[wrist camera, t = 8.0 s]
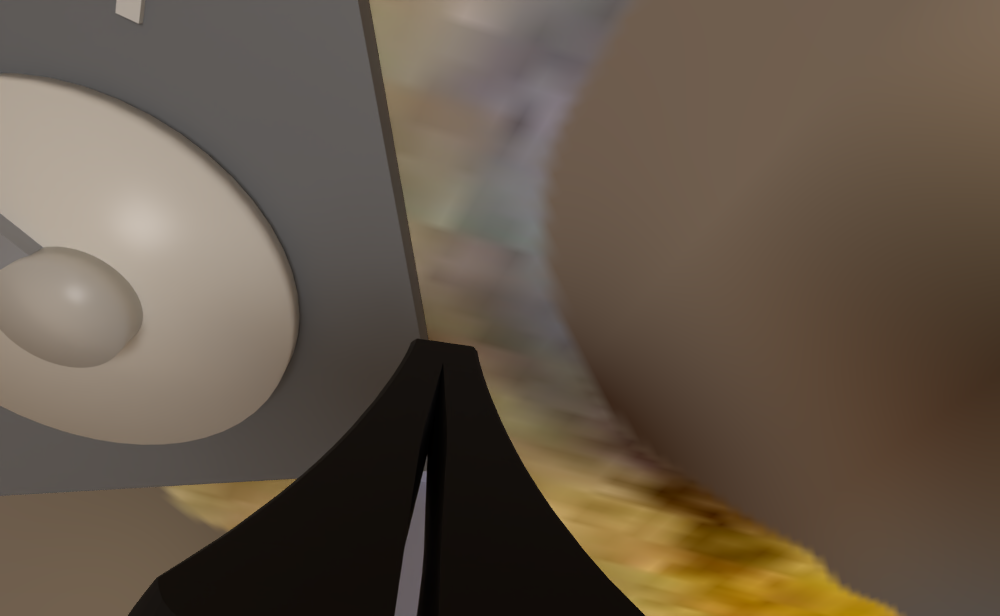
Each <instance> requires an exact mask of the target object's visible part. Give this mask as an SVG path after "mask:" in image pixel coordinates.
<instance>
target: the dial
mask: <svg viewBox="0 0 1000 616" xmlns="http://www.w3.org/2000/svg"><path fill="white" fill-rule="evenodd" d="M299 316H300V315H299V303H298V293H297V289H296V285H295V281H294V277H293V273H292V270H291V267H290V265H289V262H288V260H287V257H286V255H285V252H284V249H283V247H282V246H281V244H280V242H279V240H278V238H277V236H276V235H275V233H274V231H273V229H272V227H271V225H270V224H269V222H268V221H267V220H266V218H265V217H264V215H263V214H262V212H261V211H260V210H259V208H258V207H257V205H256V204H255V203H254V201H253V200H252V199H251V198H250V197H249V195H248V194H247V193H246V192H245V191H244V190H243V189H242V187H241V186H240V185H239V184H238V183H237V182H236V181H235V179H234V178H233V177H232V176H231V175H230V174H228V173H227V172H226V171H225V170H224V169H223V168H222V167H221V166H220V165H219V164H218V163H217V162H216V161H215V160H213V159H212V158H211V157H210V156H209V155H208V154H207V153H205V152H204V151H203V150H201V149H200V148H199V147H198V146H196V145H195V144H194V143H192V142H191V141H190V140H188V139H187V138H186V137H184V136H183V135H182V134H180V133H179V132H177V131H176V130H174V129H172V128H171V127H169V126H168V125H166V124H164V123H163V122H161V121H159V120H158V119H156V118H155V117H153V116H151V115H150V114H148V113H146V112H144V111H141V110H139V109H137V108H135V107H133V106H131V105H129V104H127V103H125V102H123V101H121V100H119V99H117V98H114V97H111V96H109V95H106V94H103V93H101V92H98V91H95V90H93V89H90V88H87V87H85V86H81V85H77V84H73V83H69V82H65V81H61V80H57V79H53V78H49V77H41V76H34V75H26V74H18V73H0V406H2V407H4V408H6V409H8V410H10V411H12V412H14V413H16V414H18V415H21V416H23V417H26V418H28V419H30V420H33V421H35V422H38V423H40V424H43V425H46V426H49V427H52V428H55V429H58V430H61V431H64V432H68V433H71V434H75V435H79V436H84V437H88V438H92V439H97V440H103V441H109V442H116V443H126V444H139V445H160V444H173V443H182V442H188V441H193V440H197V439H202V438H206V437H209V436H212V435H214V434H217V433H220V432H223V431H225V430H227V429H229V428H231V427H233V426H235V425H237V424H239V423H241V422H242V421H243V420H245V419H246V418H248V417H249V416H251V415H252V414H253V413H255V412H256V411H257V410H258V409H259V408H260V407H261V406H262V405H263V404H264V403H265V402H266V401H267V400H268V398H269V397H270V395H271V394H272V393H273V391H274V390H275V388H276V387H277V386H278V384H279V382H280V380H281V378H282V376H283V374H284V372H285V370H286V368H287V366H288V364H289V362H290V359H291V357H292V355H293V353H294V349H295V345H296V341H297V337H298V329H299Z"/></svg>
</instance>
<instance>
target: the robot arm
mask: <svg viewBox="0 0 1000 616" xmlns="http://www.w3.org/2000/svg"><path fill="white" fill-rule="evenodd" d="M426 458H427V471H423V470H424V466H425V462H426ZM128 616H645V615H644V614H643V613H642V612H641V611H640V610H639V609H638V608H637V607H636V606H635V605H634V604H633V603H632V602H631V601H630V600H629V599H628V598H627V597H626V596H625V595H624V594H623V593H622V592H621V591H620V590H619V589H618V588H617V587H616V586H615V585H614V584H613V583H612V582H611V581H610V580H609V579H608V577H607V576H606V575H605V574H604V573H603V572H602V571H601V569H600V568H599V567H598V566H597V565H596V564H595V563H594V561H593V560H592V559H591V558H590V557H589V556H588V554H587V553H586V552H585V551H584V550H583V548H582V547H581V546H580V545H579V543H578V542H577V541H576V539H575V538H574V537H573V535H572V534H571V533H570V532H569V530H568V529H567V528H566V526H565V525H564V524H563V523H562V521H561V520H560V519H559V517H558V516H557V515H556V514H555V512H554V511H553V509H552V508H551V507H550V505H549V504H548V502H547V501H546V499H545V498H544V496H543V495H542V493H541V492H540V490H539V489H538V487H537V486H536V484H535V482H534V481H533V479H532V478H531V476H530V474H529V473H528V471H527V470H526V468H525V466H524V464H523V463H522V461H521V459H520V457H519V455H518V454H517V452H516V450H515V448H514V446H513V444H512V442H511V440H510V438H509V436H508V434H507V432H506V430H505V428H504V426H503V424H502V422H501V419H500V417H499V415H498V412H497V410H496V408H495V405H494V403H493V401H492V398H491V396H490V393H489V390H488V388H487V385H486V382H485V379H484V376H483V373H482V370H481V366H480V362H479V358H478V353H477V351H476V350H475V348H474V347H471V346H465V345H458V344H451V343H444V342H438V341H431V340H424V339H415V340H414V341H412V342H411V344H410V346H409V349H408V351H407V352H406V354H405V356H404V358H403V360H402V361H401V363H400V365H399V366H398V368H397V369H396V371H395V372H394V374H393V375H392V377H391V378H390V380H389V381H388V382H387V384H386V385H385V386H384V388H383V389H382V391H381V392H380V393H379V395H378V396H377V397H376V399H375V400H374V401H373V402H372V404H371V405H370V406H369V407H368V408H367V409H366V411H365V412H364V413H363V414H362V415H361V416H360V418H359V419H358V420H357V421H356V422H355V423H354V424H353V426H352V427H351V428H350V429H349V430H348V431H347V432H346V433H345V434H344V435H343V436H342V437H341V438H340V439H339V441H338V442H337V443H336V444H335V445H334V446H333V447H332V448H330V449H329V450H328V451H327V452H326V453H325V454H324V455H323V456H322V457H321V458H320V459H319V460H318V461H317V462H316V463H315V464H314V465H312V466H311V467H310V468H309V469H308V470H307V471H306V472H304V473H303V474H302V475H301V476H300V477H299V478H298V479H296V480H295V481H294V482H293V483H292V484H291V485H289V486H288V487H287V488H286V489H285V490H283V491H282V492H281V493H280V494H278V495H277V496H276V497H275V498H273V499H272V500H271V501H269V502H268V503H267V504H265V505H264V506H263V507H261V508H260V509H258V510H257V511H256V512H254V513H253V514H252V515H250V516H249V517H248V518H246V519H245V520H244V521H242V522H241V523H240V524H238V525H237V526H236V527H234V528H233V529H231V530H230V531H229V532H227V533H226V534H224V535H223V536H221V537H220V538H218V539H217V540H215V541H214V542H212V543H211V544H209V545H208V546H206V547H204V548H203V549H201V550H200V551H198V552H196V553H195V554H193V555H192V556H190V557H189V558H187V559H186V560H184V561H182V562H181V563H180V564H178V565H176V566H175V567H173V568H171V569H170V570H168V571H167V572H165V573H163V574H162V575H160V576H159V577H157V578H156V579H155V580H154V582H153V583H152V584H151V585H150V587H149V588H148V589H147V590H146V592H145V593H144V594H143V596H142V597H141V598H140V600H139V601H138V602H137V603H136V605H135V606H134V607H133V609H132V610H131V612H130V613H129V615H128Z"/></svg>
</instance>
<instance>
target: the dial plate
mask: <svg viewBox="0 0 1000 616" xmlns="http://www.w3.org/2000/svg"><path fill="white" fill-rule="evenodd" d="M0 73H18V74H26V75H34V76H41V77H49V78H53V79H57V80H61V81H65V82H69V83H73V84H77V85H81V86H85V87H87V88H90V89H93V90H95V91H98V92H101V93H103V94H106V95H109V96H111V97H114V98H117V99H119V100H121V101H123V102H125V103H127V104H129V105H131V106H133V107H135V108H137V109H139V110H141V111H144V112H146V113H148V114H150V115H151V116H153V117H155V118H156V119H158V120H159V121H161V122H163V123H164V124H166V125H168V126H169V127H171V128H172V129H174V130H176V131H177V132H179V133H180V134H182V135H183V136H184V137H186V138H187V139H188V140H190V141H191V142H192V143H194V144H195V145H196V146H198V147H199V148H200V149H201V150H203V151H204V152H205V153H207V154H208V155H209V156H210V157H211V158H212V159H213V160H215V161H216V162H217V163H218V164H219V165H220V166H221V167H222V168H223V169H224V170H225V171H226V172H227V173H228V174H230V175H231V176H232V177H233V178H234V179H235V181H236V182H237V183H238V184H239V185H240V186H241V187H242V189H243V190H244V191H245V192H246V193H247V194H248V195H249V197H250V198H251V199H252V200H253V201H254V203H255V204H256V205H257V207H258V208H259V210H260V211H261V212H262V214H263V215H264V217H265V218H266V220H267V221H268V222H269V224H270V225H271V227H272V229H273V231H274V233H275V235H276V236H277V238H278V240H279V242H280V244H281V246H282V247H283V249H284V252H285V255H286V257H287V260H288V262H289V265H290V267H291V270H292V273H293V277H294V281H295V285H296V289H297V293H298V303H299V315H300V316H299V329H298V337H297V341H296V345H295V349H294V353H293V355H292V357H291V359H290V362H289V364H288V366H287V368H286V370H285V372H284V374H283V376H282V378H281V380H280V382H279V384H278V386H277V387H276V388H275V390H274V391H273V393H272V394H271V395H270V397H269V398H268V400H267V401H266V402H265V403H264V404H263V405H262V406H261V407H260V408H259V409H258V410H257V411H256V412H255V413H253V414H252V415H251V416H249V417H248V418H246V419H245V420H243V421H242V422H241V423H239V424H237V425H235V426H233V427H231V428H229V429H227V430H225V431H223V432H220V433H217V434H214V435H212V436H209V437H206V438H202V439H197V440H193V441H188V442H182V443H173V444H160V445H139V444H126V443H116V442H109V441H103V440H97V439H92V438H88V437H84V436H79V435H75V434H71V433H68V432H64V431H61V430H58V429H55V428H52V427H49V426H46V425H43V424H40V423H38V422H35V421H33V420H30V419H28V418H26V417H23V416H21V415H18V414H16V413H14V412H12V411H10V410H8V409H6V408H4V407H2V406H0V496H3V495H22V494H39V493H56V492H71V491H72V492H73V491H90V490H108V489H125V488H142V487H160V486H177V485H194V484H211V483H229V482H246V481H263V480H280V479H297V478H299V477H300V476H301V475H302V474H303V473H304V472H306V471H307V470H308V469H309V468H310V467H311V466H312V465H314V464H315V463H316V462H317V461H318V460H319V459H320V458H321V457H322V456H323V455H324V454H325V453H326V452H327V451H328V450H329V449H330V448H332V447H333V446H334V445H335V444H336V443H337V442H338V441H339V439H340V438H341V437H342V436H343V435H344V434H345V433H346V432H347V431H348V430H349V429H350V428H351V427H352V426H353V424H354V423H355V422H356V421H357V420H358V419H359V418H360V416H361V415H362V414H363V413H364V412H365V411H366V409H367V408H368V407H369V406H370V405H371V404H372V402H373V401H374V400H375V399H376V397H377V396H378V395H379V393H380V392H381V391H382V389H383V388H384V386H385V385H386V384H387V382H388V381H389V380H390V378H391V377H392V375H393V374H394V372H395V371H396V369H397V368H398V366H399V365H400V363H401V361H402V360H403V358H404V356H405V354H406V352H407V351H408V349H409V346H410V344H411V342H412V341H414V340H415V339H424V340H428V335H427V329H426V323H425V317H424V312H423V306H422V300H421V295H420V289H419V283H418V278H417V272H416V266H415V261H414V255H413V249H412V243H411V238H410V232H409V226H408V221H407V215H406V209H405V204H404V198H403V192H402V186H401V181H400V175H399V169H398V164H397V158H396V152H395V147H394V141H393V135H392V130H391V124H390V118H389V112H388V107H387V101H386V95H385V90H384V84H383V78H382V73H381V67H380V61H379V55H378V50H377V44H376V38H375V33H374V27H373V21H372V16H371V10H370V4H369V0H0ZM423 471H427V458H426V462H425V466H424V470H423Z"/></svg>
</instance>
